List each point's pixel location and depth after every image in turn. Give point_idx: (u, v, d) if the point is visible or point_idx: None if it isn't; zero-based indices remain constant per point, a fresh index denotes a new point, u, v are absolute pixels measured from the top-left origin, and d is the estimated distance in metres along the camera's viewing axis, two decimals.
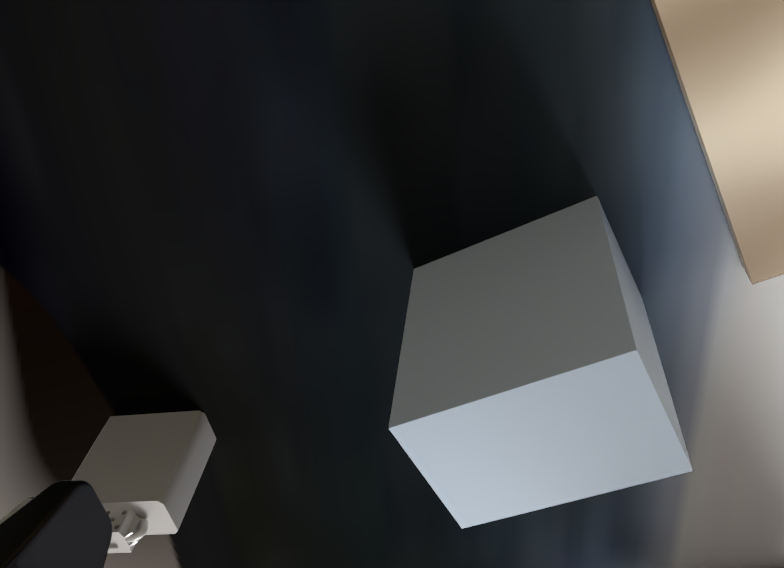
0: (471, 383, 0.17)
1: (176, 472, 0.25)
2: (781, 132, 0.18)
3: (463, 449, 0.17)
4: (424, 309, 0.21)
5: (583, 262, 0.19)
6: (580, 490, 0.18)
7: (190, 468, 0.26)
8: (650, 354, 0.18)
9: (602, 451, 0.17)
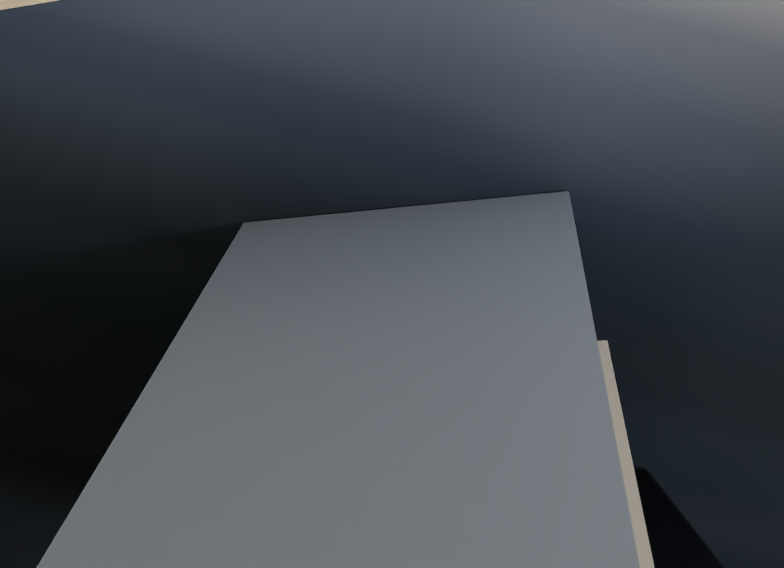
0: None
1: None
2: None
3: None
4: None
5: None
6: None
7: None
8: (330, 548, 0.05)
9: None
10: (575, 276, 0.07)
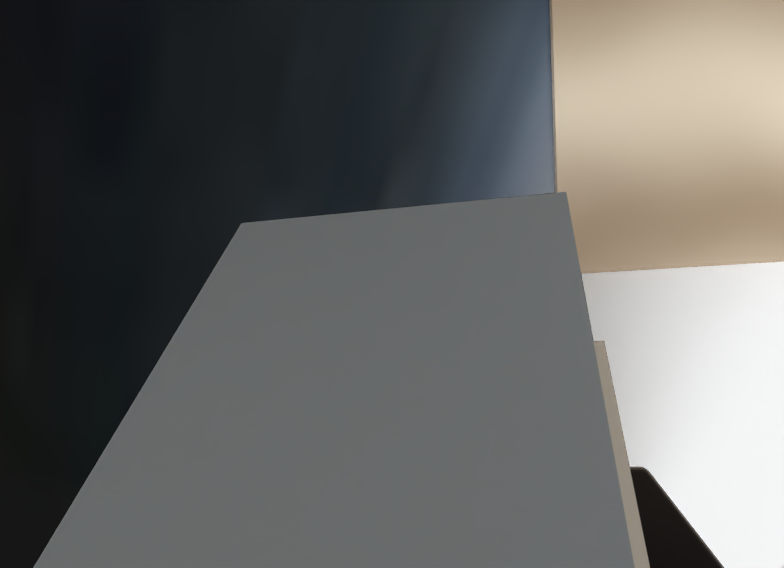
0: None
1: None
2: (632, 116, 0.17)
3: None
4: None
5: None
6: None
7: None
8: (327, 549, 0.05)
9: None
10: (572, 277, 0.07)
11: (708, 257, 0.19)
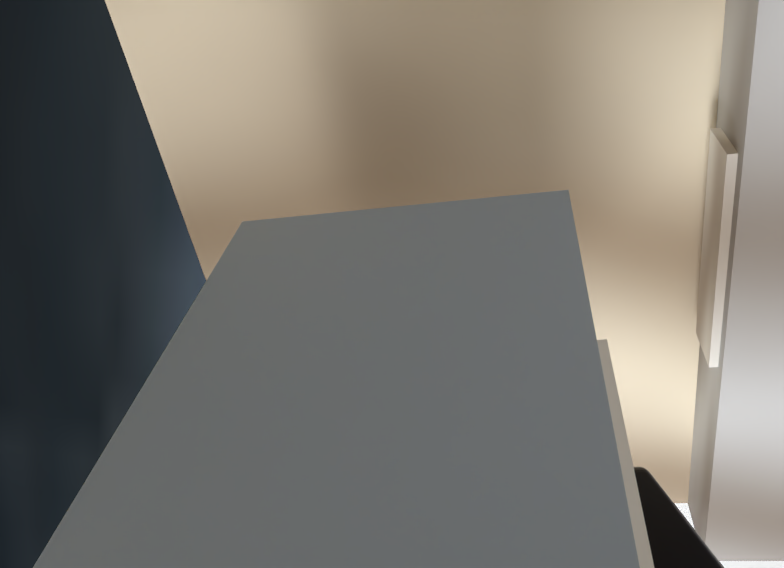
0: None
1: None
2: None
3: None
4: None
5: None
6: None
7: None
8: (329, 548, 0.05)
9: None
10: (575, 275, 0.07)
11: None
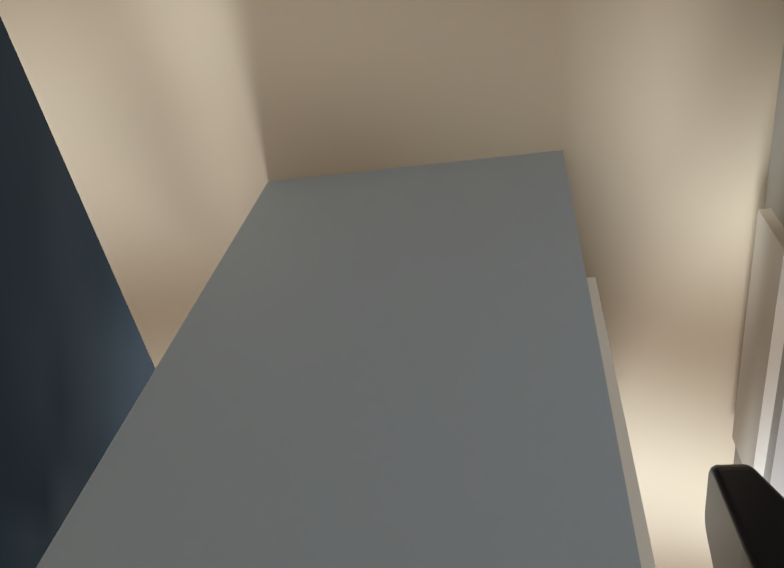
0: None
1: None
2: None
3: None
4: None
5: None
6: None
7: None
8: (359, 422, 0.06)
9: None
10: (567, 217, 0.08)
11: None
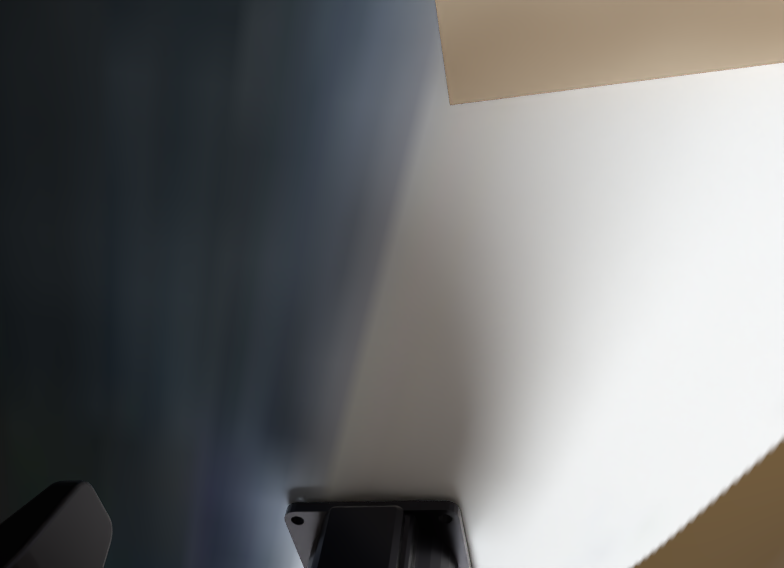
0: None
1: None
2: None
3: None
4: None
5: None
6: None
7: None
8: None
9: None
10: None
11: (622, 71, 0.16)
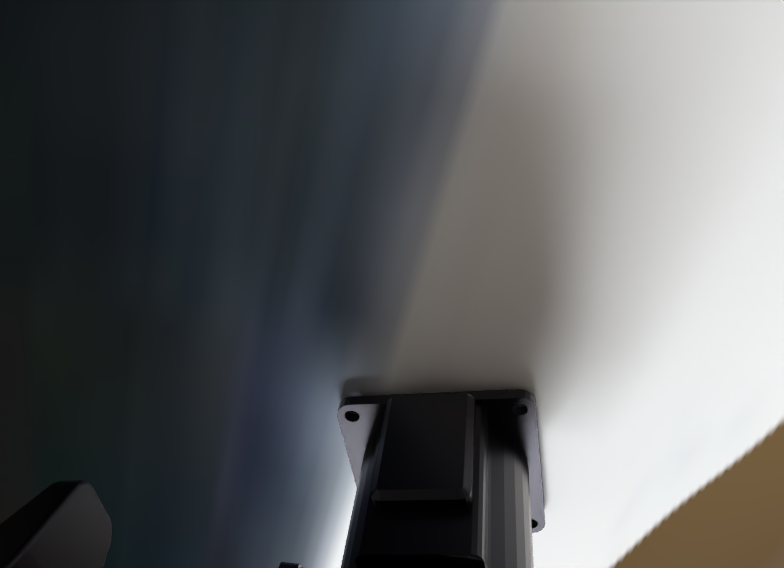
0: None
1: None
2: None
3: None
4: None
5: None
6: None
7: None
8: None
9: None
10: None
11: None
